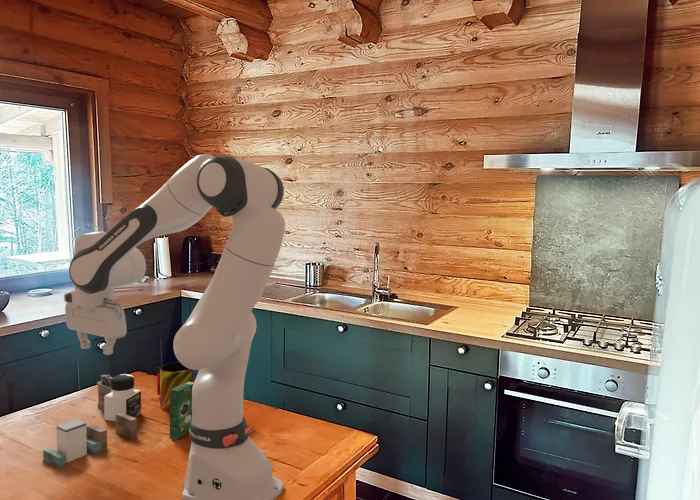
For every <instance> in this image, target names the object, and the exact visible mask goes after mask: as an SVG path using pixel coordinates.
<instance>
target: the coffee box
mask: <svg viewBox="0 0 700 500" xmlns="http://www.w3.org/2000/svg"><path fill="white" fill-rule="evenodd" d="M193 384H194V381H193V382H186V383H184V384H182V385H179V386H177V387H175V388H173V389H171V390H170V411H169V438H170V439H173V440H179V439H180V438H182V437H183V436H184V435H186V434H188V433H189V428H190V422H191V420H192V387H193Z"/></svg>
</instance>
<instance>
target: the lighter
mask: <svg viewBox="0 0 700 500" xmlns="http://www.w3.org/2000/svg"><path fill="white" fill-rule="evenodd" d="M113 377H114V376H113ZM113 377H112V376H111V374H102V375H101V374H100V381H97V382H96V384H97V394H98V395H97V399H98V400H97V408H98V409H100V410H102V411H103V412H105V411H104V396H105V395H107V394H109V393H111V379H112V378H113Z"/></svg>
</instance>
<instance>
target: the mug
mask: <svg viewBox="0 0 700 500" xmlns="http://www.w3.org/2000/svg"><path fill="white" fill-rule="evenodd" d="M156 370H157V371H156V373H157V376H156V379H157V383H156V384H157V385H156V387H157V388H156V392H157V395H158V396H160V397H159V398H160V399H159V403H160V404H159V405H160V406H159V407H160V409H161V410H163V411H165V412H170V390H171V389H173V388H175V387H177V386H179V385H182V384H184V383H186V382H194V370H192V369H189V368H187V367H185V366H183V365H182V364H181V363H180V362H179V361H178V362H177V361H176V362H169V363H166V364H163V365H161V366H158V367H157V368H156Z"/></svg>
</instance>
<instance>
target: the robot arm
mask: <svg viewBox="0 0 700 500" xmlns="http://www.w3.org/2000/svg"><path fill="white" fill-rule="evenodd" d="M284 187H285V186H284V183H283V181H282V179H281V177H280V176H278V174H276V173H275V172H274V171H272V170H271V169H270V168H266V167H262V166H260V165H258V164H255V163H254V162H252V161H249V160H245V159H241V158H235V157H232V156H228V155H219V156H218V155H217V156H213V155H211V154H205V153H203V154H199V155H196V156H194V157H193V158H192V159H190V160H189V161H188V162H186V163H185V164H184V165H183V166H182V167H180V168H179V169H178V170H177V171H176V172H175V173H173V175H172V176H171V177H170V178H169V179H168V180H167V181H166V182H165V183H164V184H163V185H162V186H161V187H160V188H159V189H158V190H157V191H156V192H155V193H153V194H152V195H151V196H150V197H149V198H147V200H145V201H144V202H143V203H141V204H140V205H139V206H138V207H135V209H133V210H132V211H131V212H129V213H128V214H126V216H124V217H123V218H122V219H121V220H120V221H119V222H117V224H115V225H114V226H113V227H112V228H111V229H110V230H109V231H95V232H94V231H93V232H86V233H82V234H80V235H78V236H77V237H76V240H75V242H74V250H73V257H72V258H71V259H72V260H71V261H70V264H69V267H68V274H69V277H70V280H71V282H72V283H73V285H74V290H71V291H69V292H66V293H64V294H63V301H64V302H65V303H66V304H65V307H64V313H65V314H64V315H65V323H66V326H67V329H68V330H72V331H76V336H77V338H78V340H79V343H80V348H81V349H85V350H87V349H90V348H91V341H90V340H89V337H88V335H87V334H89V335H93V336H97V337H98V336H99V337H102V338H104V341H105V345H104V346H103V347H102V353H103V354H104V355H107V356H109V355H112V354H113V353H114V345H116V341H117V339H122V338H124V337H126V335H127V332H128V331H127V321H126V315H125V311H124V308H123V306H122V305H121V304H120V302H119V300H117V299H115V289H118V288H121V287H124V286H125V287H126V286H130V285H134V284H136V283H139V282H141V281H142V280H143V279H144V278H145V276H146V274H147V269H148V263H147V258H146V256H145V254H144V253H143V252H142V250H141V249H140V248H138V246H139V245H141V244H142V243H144V242H146V241H149V240H150V239H154V238H157V237H161V236H164V235H169V234H174V233H179V232H183V231H186V230H187V229H189V228H191V227H192V226H193V225H196V223H198V222H199V221H200V220H202V218H204V216H206V214H207V213H208V212H209V211H210V210H211V209H212V208H213V209H215V210H216V211H217V212H218V213H219V215H221V216H222V217H230V218H231V221H232V228H231V231H230V234H229V237H228V239H227V241H226V244H225V246H224V249H223V251H222V254H221V256H220V259H219V261H218V264H217V267H216V269H215V271H214V273H213V276H212V278H211V280H210V282H209V283H208V286H207V287H206V289H205V290H204V292H203V294H202V295H201V297H200V298H199V299H198V302H197V303H196V304H195V307H194V308H193V310H192V311H191V314H190V315H189V317H188V318H187V319H186V321H185V323H184V324H183V325H181V327H180V328H179V329H178V331H177V332H175V336H174V338H173V344H172V345H173V348H172V349H173V352H174V355H175V358H176V359H177V360H178V362H180V363H181V364H182V365H183V366H185V367H187V368H189V369H192V370H193V371H197V370H198V372H197V375H196V378H195V380H193V382H194V384H193V387H192V420H191V422H190V428H189V432H188V433H189V439H190V441H191V443H190V448H189V449H190V450H189V453H188V456H187V457H188V458H187V465H186V466H187V468H186V473H185V475H186V476H185V479H184V482H183V487H184V489H183V490H182V495H181V499H182V500H276V499H277V498H278V497H279V495H280V494H281V493H282V491H283V490H284V482H283V481H281V479H278V478H277V477H275V476H274V474H273V468H272V462H271V460H269V458H268V457H267V455H266V453H265V451H264V450H261V449H260V448H259V446H257V444H256V443H255V442H254V441H253V440H252V438H251V437H250V433H251V432H252V431H253V429H252V428H253V426H252V425H250V426H249V427H248V425H247V421H246V418H245V417H244V388H245V379H246V373H247V368H248V363H249V357H250V353H251V346H252V342H253V339H254V336H255V334H256V332H257V319H256V317H255V315H254V313H253V312H252V311H253V309H254V307H255V306H256V305H257V303H258V302H259V301H260V300H261V298H262V296H263V294H264V291H265V289H266V287H267V283H268V281H269V278H270V277H271V274H272V271H273V269H274V267H275V264H276V262H277V259H278V256H279V253H280V250H281V246H282V243H283V239H284V235H285V230H286V221H285V218H284V216H283V215H282V214H281V212H279V211H278V210H277V208H278V207H279V206H280V205H281V203H282V201H283V198H284V196H285V194H284V193H285V188H284Z"/></svg>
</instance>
